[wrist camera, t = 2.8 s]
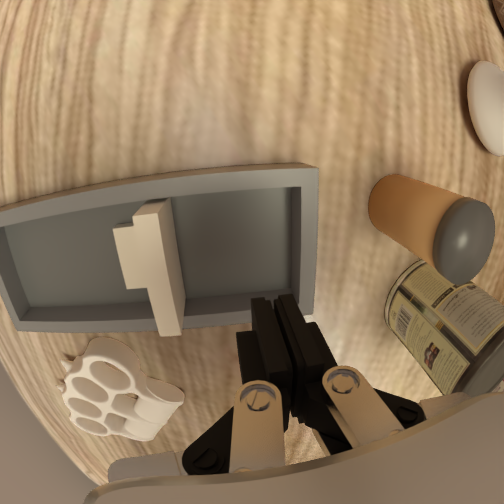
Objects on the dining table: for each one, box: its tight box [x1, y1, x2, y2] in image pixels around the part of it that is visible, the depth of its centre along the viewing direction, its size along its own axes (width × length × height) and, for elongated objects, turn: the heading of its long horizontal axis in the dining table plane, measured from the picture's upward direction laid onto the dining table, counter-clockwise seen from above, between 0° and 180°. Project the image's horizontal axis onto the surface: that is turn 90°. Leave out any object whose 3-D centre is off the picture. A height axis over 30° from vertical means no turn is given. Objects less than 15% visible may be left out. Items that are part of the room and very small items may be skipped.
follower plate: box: [113, 197, 186, 337], centre depth 19 cm, size 8×4×5 cm, turn 3°
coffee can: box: [385, 260, 504, 398], centre depth 22 cm, size 10×10×14 cm
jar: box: [368, 174, 495, 285], centre depth 19 cm, size 6×6×10 cm
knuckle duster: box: [56, 337, 185, 441], centre depth 27 cm, size 3×18×15 cm
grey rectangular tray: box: [0, 163, 319, 333], centre depth 20 cm, size 11×28×4 cm, turn 93°
